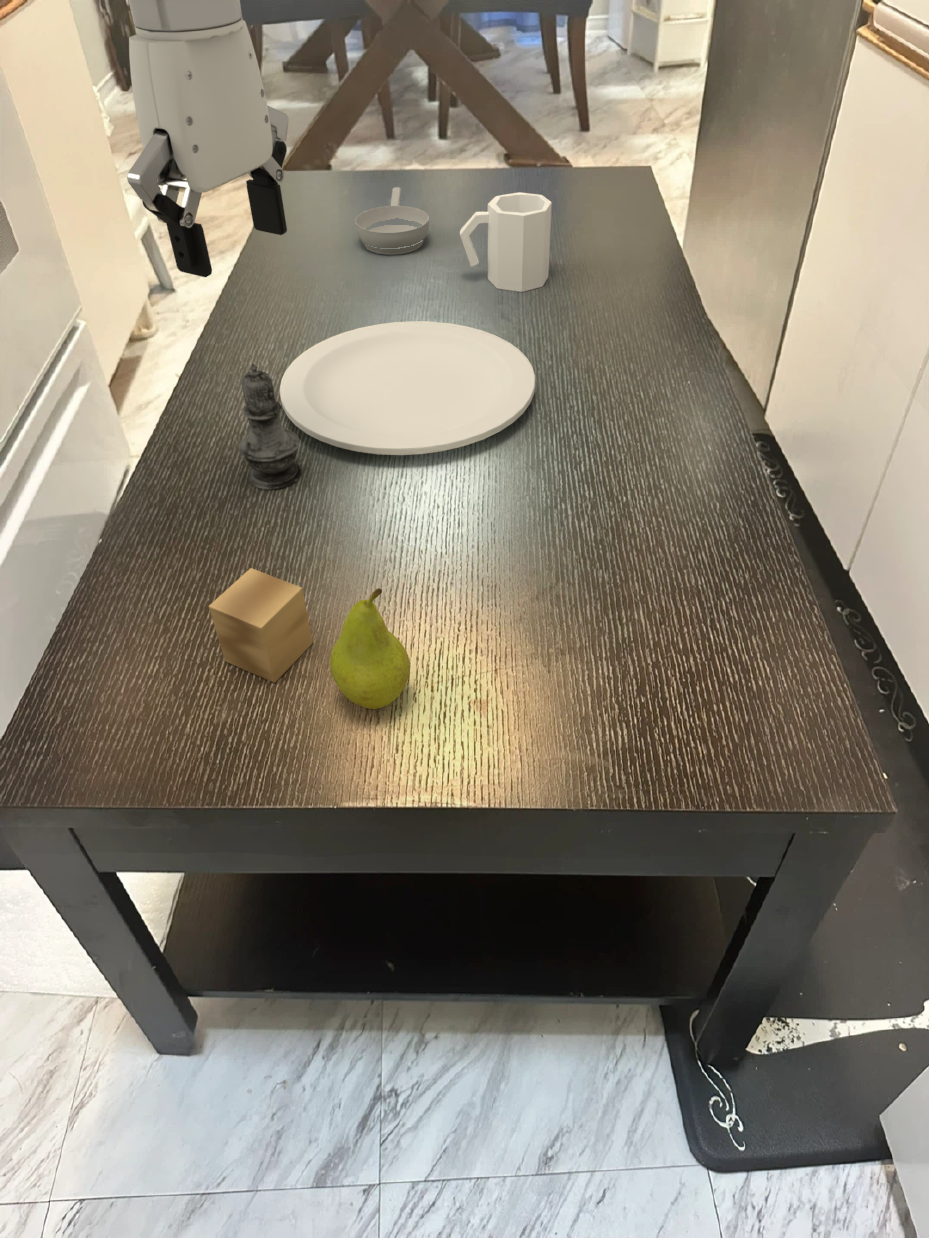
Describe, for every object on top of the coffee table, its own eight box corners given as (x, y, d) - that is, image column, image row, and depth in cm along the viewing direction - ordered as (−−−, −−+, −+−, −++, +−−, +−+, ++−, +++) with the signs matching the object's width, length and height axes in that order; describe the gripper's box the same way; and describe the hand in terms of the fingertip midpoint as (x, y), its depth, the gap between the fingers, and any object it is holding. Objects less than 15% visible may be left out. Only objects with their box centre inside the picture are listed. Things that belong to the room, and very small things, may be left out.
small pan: (354, 258, 128) (351, 231, 125) (364, 213, 141) (362, 187, 138) (429, 257, 127) (427, 229, 125) (432, 212, 140) (431, 186, 138)
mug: (545, 265, 124) (548, 191, 118) (551, 291, 118) (554, 215, 111) (460, 267, 124) (458, 194, 118) (461, 293, 118) (459, 217, 111)
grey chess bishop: (274, 498, 86) (251, 386, 77) (233, 478, 88) (206, 368, 80) (317, 470, 89) (299, 360, 81) (276, 451, 92) (254, 343, 83)
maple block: (224, 661, 70) (208, 606, 66) (264, 622, 73) (250, 567, 69) (274, 683, 68) (260, 628, 64) (313, 642, 71) (302, 587, 67)
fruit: (343, 666, 69) (323, 547, 61) (417, 671, 69) (407, 551, 61) (328, 723, 65) (304, 604, 57) (406, 728, 65) (394, 609, 56)
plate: (417, 318, 113) (416, 300, 112) (586, 395, 99) (588, 376, 97) (233, 399, 99) (228, 380, 98) (397, 503, 85) (395, 482, 83)
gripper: (224, -18, 69) (263, 211, 81) (52, 25, 58) (126, 282, 70) (302, -12, 66) (331, 224, 78) (137, 35, 55) (199, 300, 67)
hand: (234, 251), depth 74 cm, fingers open, 9 cm apart
